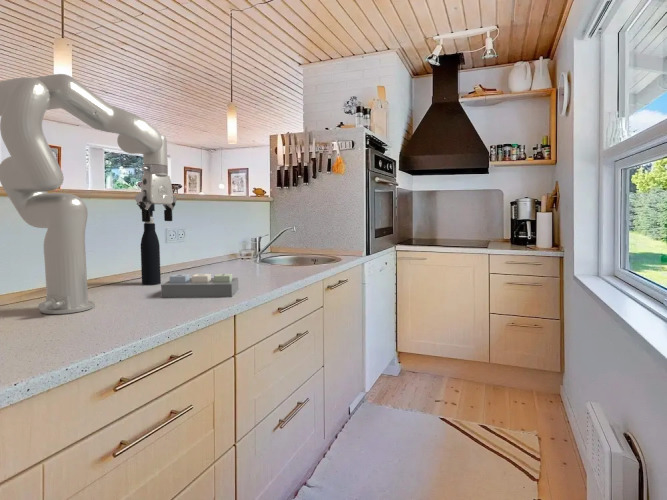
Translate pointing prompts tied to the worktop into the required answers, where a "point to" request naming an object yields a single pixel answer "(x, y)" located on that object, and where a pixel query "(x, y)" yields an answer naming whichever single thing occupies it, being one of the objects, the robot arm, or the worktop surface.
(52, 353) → the worktop surface
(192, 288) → the key panel
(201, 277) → the key cream
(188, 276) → the key blue
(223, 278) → the key sage
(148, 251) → the wine bottle
